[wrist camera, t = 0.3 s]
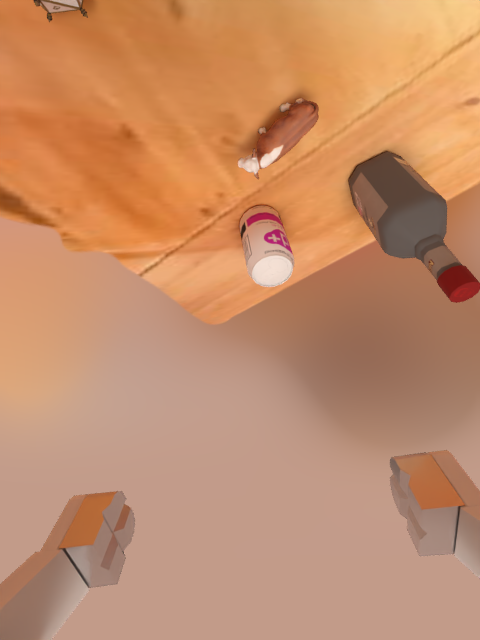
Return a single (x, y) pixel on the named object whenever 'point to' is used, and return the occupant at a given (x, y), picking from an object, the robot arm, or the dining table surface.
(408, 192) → the liquor
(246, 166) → the bull figurine
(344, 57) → the dining table surface
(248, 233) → the supplement can
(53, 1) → the game die
